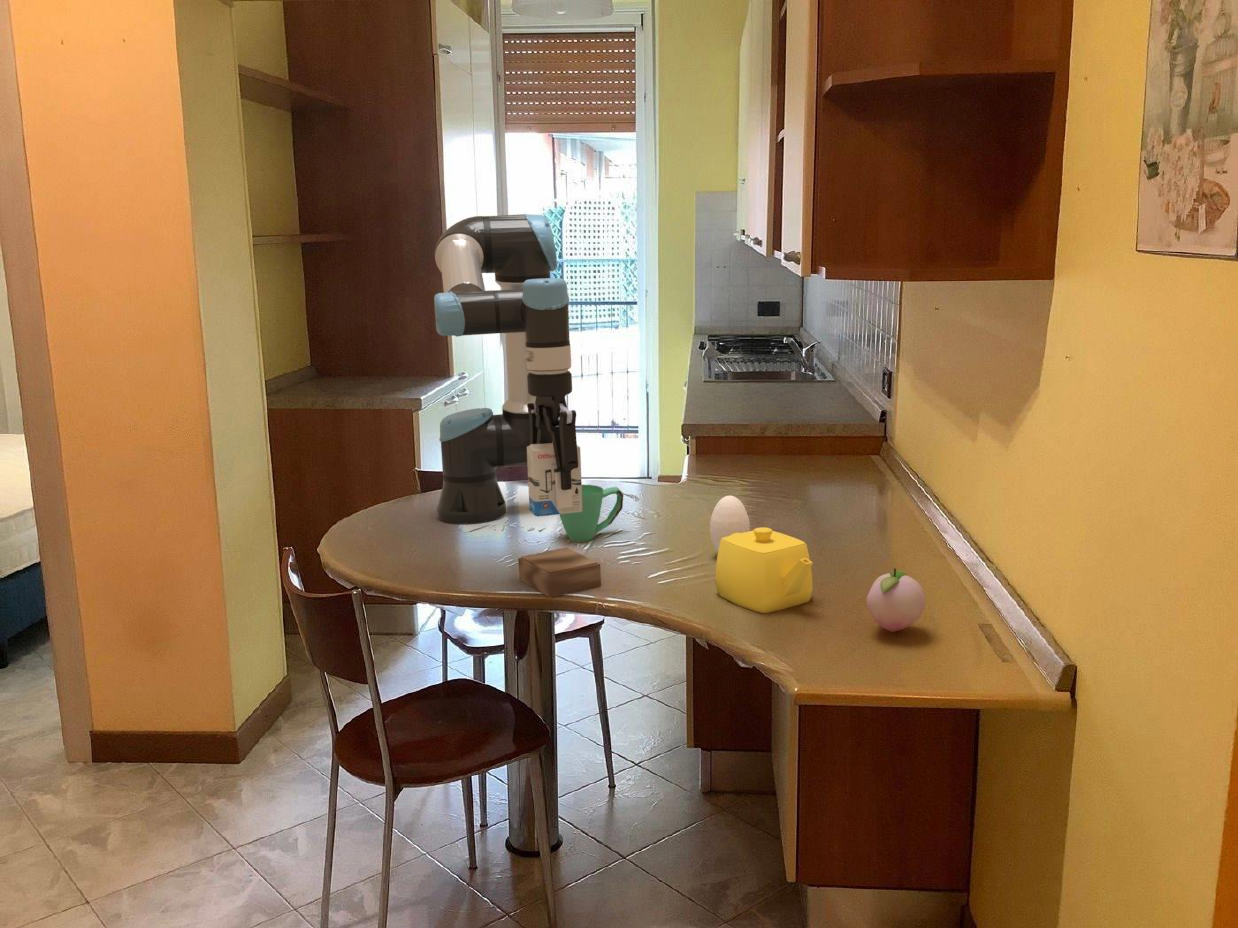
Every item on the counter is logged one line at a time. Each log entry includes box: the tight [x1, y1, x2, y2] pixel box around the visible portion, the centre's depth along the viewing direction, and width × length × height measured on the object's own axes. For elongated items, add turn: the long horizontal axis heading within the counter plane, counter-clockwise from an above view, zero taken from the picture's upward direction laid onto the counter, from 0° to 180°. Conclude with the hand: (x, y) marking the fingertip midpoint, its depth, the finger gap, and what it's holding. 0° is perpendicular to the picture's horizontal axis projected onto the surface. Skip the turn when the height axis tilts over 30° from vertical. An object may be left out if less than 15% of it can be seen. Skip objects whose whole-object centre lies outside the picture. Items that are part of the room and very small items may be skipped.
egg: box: [709, 495, 751, 552], centre depth 194 cm, size 7×7×12 cm
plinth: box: [517, 547, 602, 599], centre depth 183 cm, size 12×10×4 cm
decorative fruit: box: [866, 567, 926, 633], centre depth 155 cm, size 9×8×10 cm
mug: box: [559, 484, 624, 542], centre depth 211 cm, size 15×10×10 cm
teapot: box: [715, 526, 814, 614], centre depth 171 cm, size 20×12×12 cm, turn 32°
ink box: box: [526, 443, 583, 517], centre depth 180 cm, size 9×5×12 cm, turn 107°
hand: (555, 503), depth 181 cm, fingers closed on ink box, 6 cm apart
